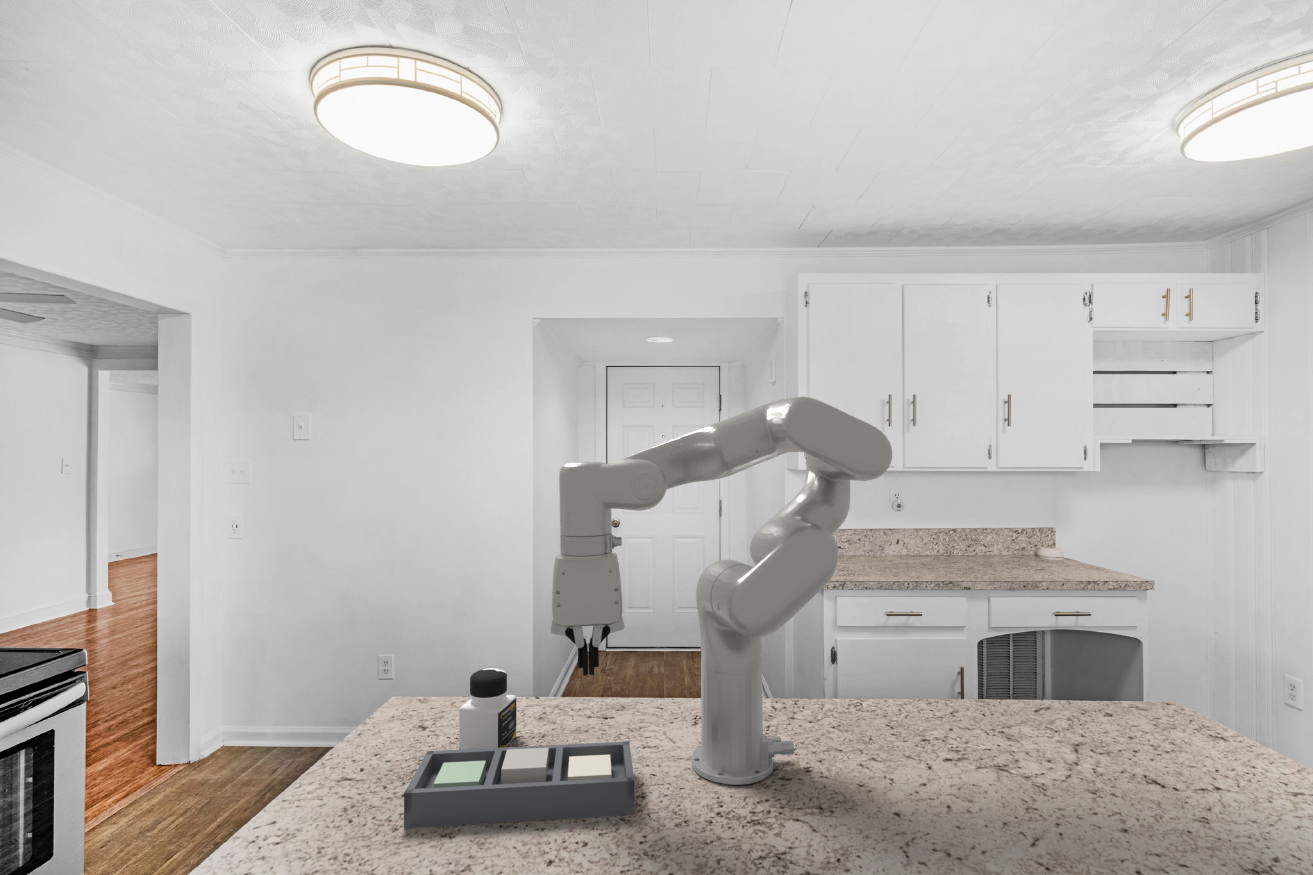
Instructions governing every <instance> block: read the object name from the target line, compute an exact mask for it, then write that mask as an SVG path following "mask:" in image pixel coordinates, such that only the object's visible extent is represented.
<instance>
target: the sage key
mask: <svg viewBox="0 0 1313 875" xmlns="http://www.w3.org/2000/svg"><path fill="white" fill-rule="evenodd" d="M485 776H486V761H467V762H447V763H443V765H442V767H441V769H440V771H439V773H438V775H437V777H436V780H435V782H434V784H433V788H441V787H459V786H478V785H483V782H484V779H485Z"/></svg>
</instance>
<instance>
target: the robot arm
mask: <svg viewBox="0 0 1313 875" xmlns="http://www.w3.org/2000/svg"><path fill="white" fill-rule="evenodd" d="M891 445H892V444H891V442H890V440H889V439H888V437H887V436H886V435H885V434H884V433H883V432H882V431H881V430H880V429H879V428H877V427H876V426H874V425H873V424H870V423H868V422H866V421H865V420H861V419H860V418H857V417H855V416H854V415H851V414H849V413H847V412H845V411H843V410H841V409H838V408H837V407H835V406H832V405H830V404H828V403H826V402H824V401H821V400H818V399H816V398H813V397H807V396H797V397H792V398H791V397H790V398H785V399H779V400H775V401H772V402H767V403H764V404H762V405H760V406H757V407H754V408H753V409H750V410H746V411H745V412H741V413H739V414H736V415H734V416H731V417H729V418H726V419H723V420H721V421H718V422H716V423H712V424H709V425H707V426H704V427H702V428H700V429H696V430H694V431H691V432H689V433H686V434H684V435H682V436H679V437H677V438H674V439H670V440H669V441H665V442H663V443H660V444H657V445H654V446H652V447H648V448H646V449H644V450H641V451H638V452H636V453H633V454H630V455H627V456H625V457H623V458H620V459H617V460H615V461H614V462H612V463H604V462H600V461H574V462H567V463H564V464H563V465H562V466H561V467H560V470H559V476H558V478H559V479H558V480H559V482H558V483H559V485H558V486H559V487H558V488H559V491H558V492H559V535H560V538H559V540H560V541H559V543H560V545H559V546H560V547H559V548H560V554H557V555H556V556H555V558H554V564H553V571H552V572H553V573H552V574H553V575H552V591H551V594H552V596H551V600H552V601H551V602H552V603H551V612H552V613H551V615H552V622H551V625H550V633H551V634H554V635H559V636H565V637H567V638H568V639H569V640H570V641H571V642H572V643H573V644H575V646H576V647H577V668H578V669H582V675H583V677H584V676H587V675H590V676H595V668H599V667H600V661H599V659H600V658H599V657H600V656H599V654H600V652H599V647H600V646H601V643H602V642H604V640H605V639H606V638H607V637H608V636H609V635H610V634H613V633H616V632H619V631H623V630H624V629H625V623H624V619H623V593H622V592H623V591H622V580H621V572H620V563H619V559H618V555H617V552H613V550H614V549H615V548H617V547H622V545H623V542H622V541H623V539H622V536H616V535H614V534H613V533H612V530H613V529H612V526H613V525H612V509H613V510H614V509H615V510H629V511H646V510H650V509H653V508H654V507H656V506H657V505H659V504H660V503H661V501H662V500H663V498H664V497H665V495H666V492H667V490H670V489H673V488H676V487H679V486H682V485H687V484H692V483H698V482H706V481H707V482H708V481H715V480H718V479H723V478H726V477H730V476H733V475H735V474H737V473H740V472H742V471H744V470H747V469H749V468H751V467H754V466H756V465H758V464H761V463H763V462H767V461H769V460H771V459H774V458H776V457H779V456H781V455H784V454H787V453H805V465H806V466H805V467H806V473H805V474H806V477H805V482H804V484H803V486H802V488H801V489H800V491H799V492H798V493H797V494H796V495H795V496H794V497H793V498H792V499H791V500H790V501H789V502H788V503H787V504H786V505H784V507H782V508H781V509H780V510H779V511H778V512H777V513H775V514H774V515H773V516H772V517H771V518H770V519H768V520H767V521H766V522H765V523H764V524H763V525H762V526H761V527H759V528H758V529H757V531H756V532H755V533H754V535H753V536H752V538H751V541H750V544H749V554H750V557H751V560H752V562H754V564H755V565H754V566H751V565H749V564H746V563H743V562H741V561H738V560H734V559H722V560H721V559H720V560H716V561H714V562H712V563H710V564H709V565H707V566H706V567H705V568H704V569H703V571H702V573H701V574H700V575H699V578H698V580H697V584H696V591H695V595H696V596H695V600H696V601H695V602H696V609H697V616H698V617H697V618H698V624H699V634H700V700H701V701H700V713H701V716H700V717H701V718H700V721H701V722H700V726H701V727H700V728H701V730H700V732H701V737H700V738H701V740H700V741H701V743H700V744H701V745H700V746H698V747H696V749H695V750H694V751H693V752H692V754H691V766H692V769H693V770H694V771H695V772H696V773H697V774H698V775H699V776H701V777H702V778H704V779H707V780H709V781H712V782H715V783H718V784H723V785H733V786H739V785H741V786H742V785H743V786H744V785H750V784H755V783H758V782H760V781H761V782H762V781H763V780H766V779H767V778H768V777H769V776H771V774H772V773H773V771H774V759H773V758H774V757H775V755H776V756H778V755H781V756H784V755H785V756H786V755H787V756H789V755H794V754H795V747H794V746H795V745H794V742H793V741H792V740H782V738H781V736H780V735H777V736H776V735H773V736H766V735H765V733H764V732H763V731H764V730H763V729H764V725H763V721H764V720H763V718H764V717H763V716H764V714H763V711H764V710H763V647H762V646H763V645H762V638H764V637H768V636H770V635H772V634H773V633H776V631H778V630H779V629H781V628H782V627H783V626H784V625H786V624H787V623H788V622H789V621H790V620H791V619H792V618H793V617H794V616H795V615H796V614H798V613H799V611H801V610H802V608H804V607H805V606H807V604H808V603H809V602H810V601H811V600H812V599H813V598H814V597H815V596H816V595H817V594H819V593H820V592H821V591H822V590H823V588H824V587H826V585H827V584H828V583H829V581H831V579H832V577H833V576H834V574H835V571H836V569H837V566H838V562H839V547H838V544H837V541H836V540H835V537H834V536H833V535H834V534H835V532H836V531H838V529H840V527H841V526H842V525H843V524H844V523H845V521H846V519H847V517H848V514H849V511H850V507H851V506H850V505H851V481H856V482H858V481H860V482H863V481H864V482H867V481H872V480H876V479H878V478H880V477H881V476H882V475H884V474H885V473H886V472H887V470H888V469H889V468H890V465H891V464H892V460H893V449H892V446H891ZM583 627H592V633H591V634H592V635H591V637H590V639H589V642H588V643H587V639H586V638H585V637H584V636H585V635H584V630H583Z"/></svg>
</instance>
